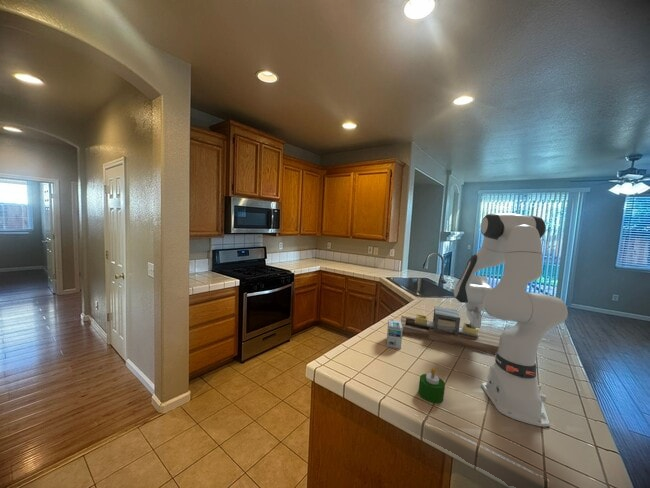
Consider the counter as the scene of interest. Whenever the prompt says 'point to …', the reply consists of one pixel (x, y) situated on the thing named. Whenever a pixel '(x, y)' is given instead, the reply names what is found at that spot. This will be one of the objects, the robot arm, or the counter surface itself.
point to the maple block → (446, 322)
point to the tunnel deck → (483, 342)
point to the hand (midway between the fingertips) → (471, 330)
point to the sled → (465, 330)
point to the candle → (431, 387)
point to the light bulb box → (394, 333)
